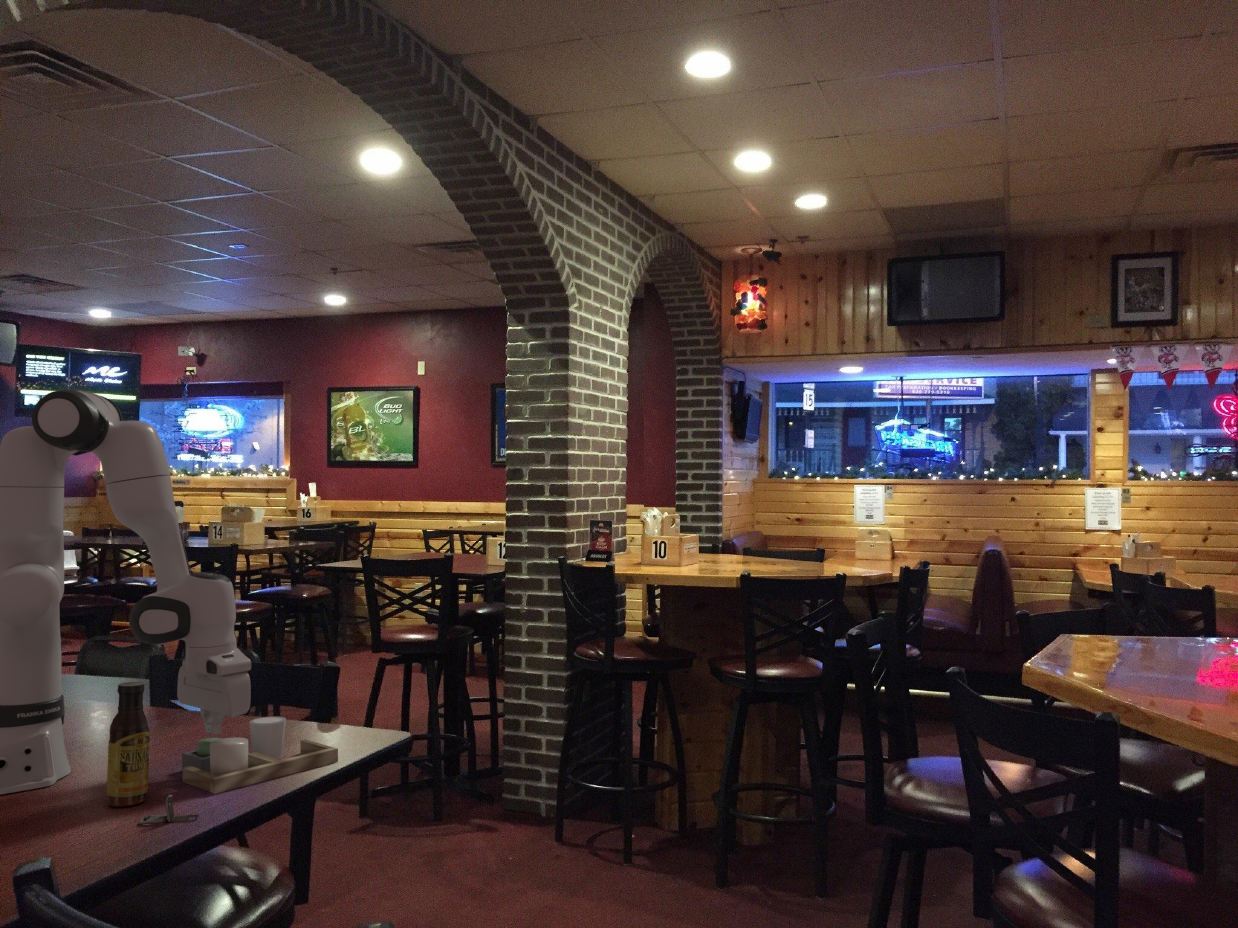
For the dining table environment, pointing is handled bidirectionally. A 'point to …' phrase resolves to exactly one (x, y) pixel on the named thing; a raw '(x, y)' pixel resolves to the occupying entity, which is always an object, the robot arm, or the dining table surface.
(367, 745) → the dining table surface
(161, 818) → the strap clip
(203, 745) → the button
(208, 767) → the button box
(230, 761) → the white cylinder puck
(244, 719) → the dining table surface
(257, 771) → the frame
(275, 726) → the white tapered cup
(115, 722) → the sauce bottle
